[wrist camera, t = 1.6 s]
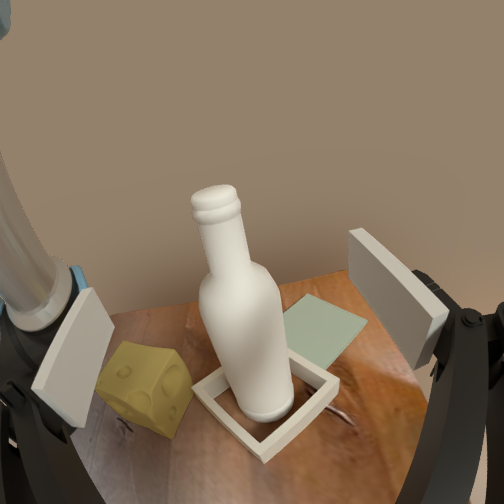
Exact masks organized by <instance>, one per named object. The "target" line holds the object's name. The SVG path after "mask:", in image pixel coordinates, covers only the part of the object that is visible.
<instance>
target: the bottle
mask: <svg viewBox="0 0 504 504" xmlns="http://www.w3.org/2000/svg"><path fill="white" fill-rule="evenodd" d="M190 201H191V204H192V216H193V219H194V220H195V222H196V223H197V227H198V230H199V234H200V237H201V241H202V245H203V248H204V252H205V255H206V258H207V261H208V265H209V268H210V271H209V273H208V274H207V275H206V277H205V278H204V279H203V281H202V283H201V286H200V289H199V310H200V314H201V317H202V320H203V322H204V325H205V327H206V330H207V332H208V335H209V337H210V340H211V342H212V345H213V347H214V350H215V352H216V354H217V357H218V359H219V361H220V364H221V366H222V368H223V371H224V373H225V375H226V377H227V380H228V382H229V384H230V386H231V388H232V391H233V393H234V395H235V397H236V400H237V403H238V405H239V407H240V409H241V410H242V412H243V413H244V414H245V415H246V416H247V417H248V418H249V419H251V420H253V421H255V422H260V423H269V422H274V421H277V420H279V419H281V418H283V417H284V416H285V415H286V414H287V413H288V412H289V411H290V410H291V408H292V405H293V403H294V389H293V383H292V379H291V371H290V363H289V355H288V348H287V341H286V333H285V326H284V319H283V312H282V305H281V298H280V291H279V289H278V287H277V285H276V283H275V282H274V280H273V279H272V277H271V275H270V274H269V272H268V271H267V270H266V268H265V267H263V266H261V265H259V264H257V263H255V262H253V261H250V256H249V251H248V246H247V241H246V236H245V232H244V227H243V222H242V217H241V212H240V209H241V202H240V200H239V199H238V197H237V193H236V189H235V188H234V187H232V186H231V185H217V186H212V187H208V188H205V189H202V190H200V191H198V192H196V193H194V195H193V196H192V197H191V199H190Z"/></svg>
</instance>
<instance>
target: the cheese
mask: <svg viewBox="0 0 504 504" xmlns="http://www.w3.org/2000/svg"><path fill="white" fill-rule="evenodd" d="M192 386H194V384H193V381H192V378H191V376H190V373H189V371H188V369H187V367H186V365H185V363H184V361H183V360H182V358H181V357H180V356H179V354H178V353H177V352H176V351H175V350H174V349H167V348H156V347H150V346H145V345H141V344H136V343H132V342H129V341H125V340H124V341H123V342H122V343H121V344H120V345H119V347H118V348H117V349H116V351H115V352H114V354H113V355H112V357H111V358H110V360H109V361H108V363H107V364H106V366H105V367H104V368H103V370H102V371H101V372H100V374H99V375H98V379H97V382H96V385H95V389H94V390H95V391H96V393H97V394H98V395H99V396H100V397H101V398H102V399H103V400H104V401H105V402H106V403H107V404H108V405H109V406H110V407H111V408H112V409H113V410H114V411H115V412H116V413H117V414H119V415H120V416H121V417H122V418H123V419H125V420H127V421H130V422H132V423H134V424H137V425H140V426H145V427H147V428H149V429H151V430H152V431H154V432H156V433H158V434H160V435H162V436H165V437H167V438H169V439H173V438H174V436H175V434H176V431H177V428H178V426H179V423H180V421H181V419H182V417H183V415H184V413H185V411H186V409H187V407H188V405H189V403H190V401H191V399H192V397H193V395H194V391H193V390H192V388H191V387H192Z"/></svg>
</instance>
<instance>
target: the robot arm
mask: <svg viewBox="0 0 504 504" xmlns="http://www.w3.org/2000/svg"><path fill="white" fill-rule="evenodd" d="M10 14H11V8H10V0H0V40H2V38H3V37H4V36H6V35H7V33H8V32H9V30H10V24H11V22H10ZM348 278H349V279H350V280H351V282H352V283H353V284H354V286H355V287H356V288H357V290H358V291H359V293H360V294H361V295H362V297H363V298H364V299H365V301H366V302H367V303H368V305H369V306H370V308H371V309H372V310H373V312H374V313H375V315H376V316H377V317H378V319H379V320H380V322H381V323H382V325H383V326H384V327H385V329H386V330H387V332H388V333H389V335H390V336H391V338H392V339H393V341H394V342H395V344H396V345H397V347H398V348H399V350H400V351H401V353H402V354H403V356H404V357H405V359H406V360H407V362H408V363H409V365H410V366H411V368H412V369H413V371H414V370H416V369H418V368H420V367H422V366H424V365H426V364H428V363H429V361H430V359H431V357H432V354H434V355H435V356H436V358H437V361H436V363H435V365H434V368H433V370H432V372H431V374H430V376H432V375H433V374H434V377H433V383H432V388H431V394H430V399H429V403H428V408H427V412H426V416H425V421H424V424H423V428H422V432H421V435H420V439H419V442H418V445H417V449H416V452H415V455H414V458H413V461H412V464H411V466H410V469H409V472H408V474H407V477H406V480H405V482H404V484H403V487H402V489H401V492H400V494H399V496H398V498H397V501H396V503H395V504H468V501H469V498H470V495H471V492H472V488H473V485H474V481H475V477H476V474H477V469H478V465H479V461H480V455H481V451H482V445H483V438H484V432H485V424H486V434H487V457H488V458H487V488H486V500H485V504H504V302H502V303H500V304H499V305H498V307H497V310H496V312H495V313H494V314H488V315H483V316H482V315H481V313H479V312H478V311H476V310H474V309H471V308H464V309H461V307H460V306H459V305H457V303H456V302H455V301H453V299H451V297H449V295H448V294H446V292H444V290H442V289H440V287H439V286H438V285H437V284H436V283H434V281H433V280H432V279H431V278H430V277H429V276H428V275H426V274H425V273H422V272H420V271H418V270H414V271H410V270H409V269H408V268H407V267H406V266H404V265H403V264H402V263H401V262H400V261H399V260H398V259H397V258H396V257H395V256H394V255H392V254H391V253H390V252H389V251H388V250H387V249H386V248H385V247H384V246H383V245H381V244H380V243H379V242H378V241H377V240H376V239H374V238H373V237H372V236H371V235H370V234H369V233H367V232H366V231H365V230H364V229H363V228H359V229H355V230H350V231H349V274H348ZM0 296H1V297H2V298H3V299H4V300H5V301H6V304H5V302H4V300H3V299H1V297H0V399H1V400H2V401H3V402H4V403H5V404H6V405H7V406H5V405H4V404H3V403H2V402H1V401H0V504H106V503H105V501H104V500H103V498H102V497H101V495H100V493H99V492H98V490H97V489H96V487H95V485H94V483H93V482H92V480H91V478H90V476H89V475H88V473H87V471H86V469H85V467H84V465H83V463H82V461H81V459H80V457H79V455H78V453H77V451H76V449H75V447H74V445H73V443H72V440H71V438H70V435H71V434H72V433H73V432H74V430H75V429H76V428H77V427H79V428H85V424H86V419H87V415H88V411H89V407H90V404H91V400H92V396H93V392H94V389H95V385H96V382H97V379H98V375H99V372H100V369H101V366H102V362H103V359H104V356H105V353H106V350H107V347H108V344H109V342H110V339H111V336H112V333H113V330H114V328H115V326H114V324H113V323H112V321H111V319H110V317H109V316H108V314H107V312H106V311H105V309H104V307H103V305H102V304H101V302H100V300H99V298H98V296H97V294H96V292H95V290H94V288H93V287H91V288H89V287H88V285H87V282H86V279H85V277H84V274H83V271H82V268H81V267H80V266H78V265H76V266H70V267H69V268H68V266H67V265H66V264H65V262H64V261H63V260H61V259H59V258H58V257H55V256H49V255H48V254H47V252H46V251H45V249H44V247H43V245H42V244H41V242H40V240H39V238H38V237H37V235H36V233H35V231H34V229H33V227H32V225H31V223H30V221H29V219H28V217H27V216H26V213H25V211H24V209H23V207H22V205H21V203H20V201H19V199H18V196H17V194H16V192H15V190H14V187H13V185H12V182H11V180H10V178H9V175H8V172H7V170H6V167H5V164H4V161H3V159H2V156H1V153H0ZM9 438H10V439H12V440H13V441H14V442H15V443H17V448H15V447H14V446H12V445H11V444H10V443H9Z"/></svg>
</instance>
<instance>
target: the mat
mask: <svg viewBox="0 0 504 504" xmlns="http://www.w3.org/2000/svg"><path fill="white" fill-rule="evenodd" d="M283 319H284V326H285V333H286V341H287V348H289V349H291V350H292V351H294V352H295V353H297V354H299V355H300V356H302V357H304V358H305V359H307V360H308V361H310V362H312V363H313V364H315V365H317V366H318V367H320V368H322V369H324V370H326V369H327V368H328V367H329V366H330V365H331V364H332V363H333V362H334V360H335V359H336V358H337V357H338V356H339V355H340V354H341V353H342V352H343V351H344V349H345V348H346V347H347V346H348V345H349V344H350V343H351V341H352V340H353V339H354V338H355V337H356V336H357V334H358V333H359V332H360V331H361V330H362V329H363V327H364V326H365V325H366V324H367V321H368V320H366V319H363V318H361V317H359V316H357V315H354V314H352V313H350V312H348V311H345V310H343V309H341V308H339V307H336V306H334V305H332V304H330V303H328V302H325V301H323V300H321V299H319V298H316V297H314V296H312V295H310V294H308V293H307V294H306V295H305V296H304V297H303V298H301V299H300V300H299V301H298V302H297V303H295V304H294V305H293V306H292V307H290V308H289V309H288V310H287V311H285V312H284V313H283Z"/></svg>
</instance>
